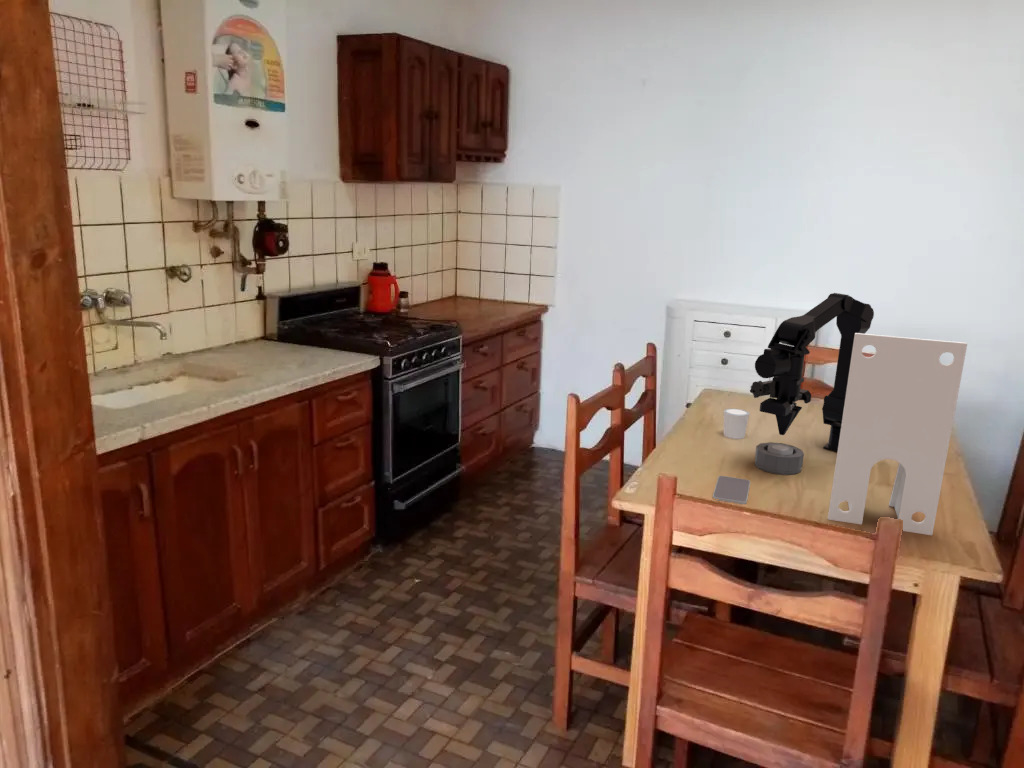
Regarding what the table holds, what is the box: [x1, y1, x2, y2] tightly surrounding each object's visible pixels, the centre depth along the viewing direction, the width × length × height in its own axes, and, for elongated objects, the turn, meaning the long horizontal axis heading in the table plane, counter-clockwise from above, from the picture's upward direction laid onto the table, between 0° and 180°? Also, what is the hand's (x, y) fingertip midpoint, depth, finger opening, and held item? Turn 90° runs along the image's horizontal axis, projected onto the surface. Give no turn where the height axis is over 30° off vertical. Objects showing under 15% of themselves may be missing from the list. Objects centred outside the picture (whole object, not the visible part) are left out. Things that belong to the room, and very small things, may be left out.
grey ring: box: [754, 441, 805, 476], centre depth 200 cm, size 11×11×4 cm
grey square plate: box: [712, 475, 751, 505], centre depth 185 cm, size 7×1×15 cm
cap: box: [767, 444, 793, 455], centre depth 200 cm, size 6×6×4 cm
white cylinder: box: [723, 408, 750, 440], centre depth 224 cm, size 7×7×7 cm
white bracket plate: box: [827, 333, 968, 536], centre depth 169 cm, size 20×14×40 cm
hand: (781, 434), depth 199 cm, fingers closed
